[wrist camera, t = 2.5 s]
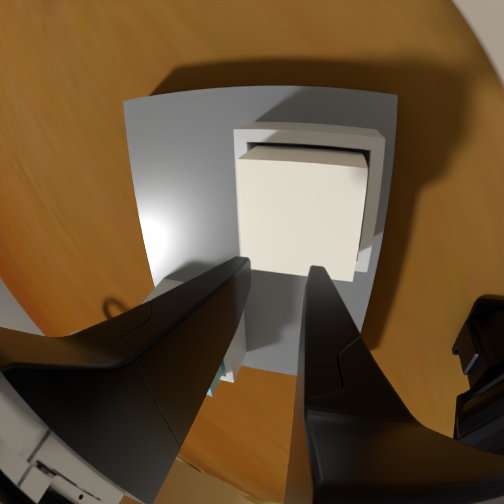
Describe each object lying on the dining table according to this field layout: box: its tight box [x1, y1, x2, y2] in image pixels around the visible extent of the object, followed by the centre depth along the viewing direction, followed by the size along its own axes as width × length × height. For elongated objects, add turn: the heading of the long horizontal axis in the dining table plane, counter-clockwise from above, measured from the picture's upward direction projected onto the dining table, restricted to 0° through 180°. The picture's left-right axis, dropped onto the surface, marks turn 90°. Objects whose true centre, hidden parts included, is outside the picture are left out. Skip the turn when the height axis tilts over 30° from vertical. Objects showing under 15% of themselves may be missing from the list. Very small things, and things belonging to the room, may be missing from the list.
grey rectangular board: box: [123, 86, 398, 383], centre depth 21 cm, size 17×23×6 cm
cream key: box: [237, 146, 368, 282], centre depth 13 cm, size 5×5×3 cm
